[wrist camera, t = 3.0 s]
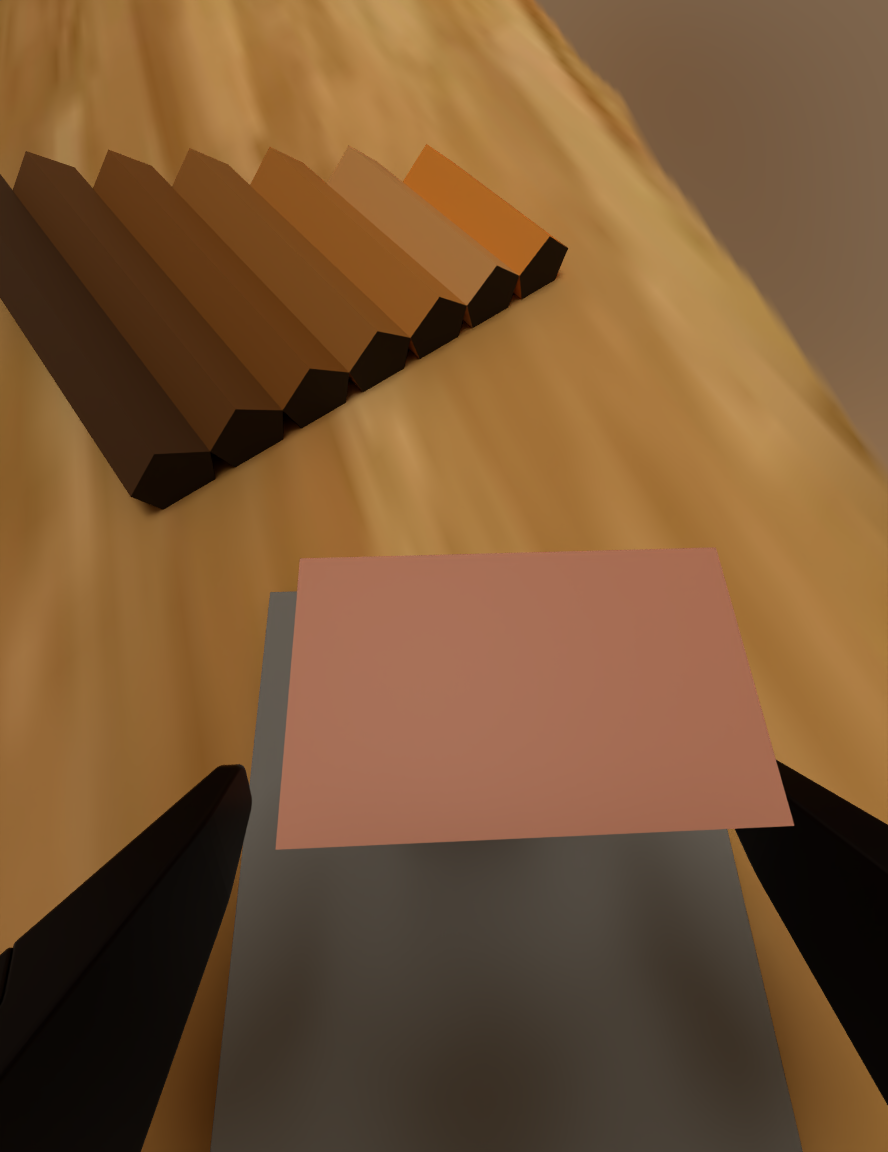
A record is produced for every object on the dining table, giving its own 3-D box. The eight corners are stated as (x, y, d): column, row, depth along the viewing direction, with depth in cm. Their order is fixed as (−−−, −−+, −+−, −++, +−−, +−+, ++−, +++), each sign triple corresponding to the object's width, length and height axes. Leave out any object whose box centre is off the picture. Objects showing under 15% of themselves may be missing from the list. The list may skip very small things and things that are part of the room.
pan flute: (-34, 232, 28) (158, 521, 21) (-94, 164, 25) (110, 478, 18) (318, 97, 34) (558, 285, 27) (307, 29, 31) (574, 222, 24)
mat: (827, 1311, 12) (846, 1337, 12) (196, 1361, 12) (184, 1391, 11) (662, 586, 20) (669, 580, 19) (275, 597, 19) (270, 592, 19)
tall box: (536, 784, 16) (794, 825, 5) (390, 790, 16) (275, 849, 4) (527, 695, 17) (715, 547, 6) (390, 700, 17) (299, 559, 6)
